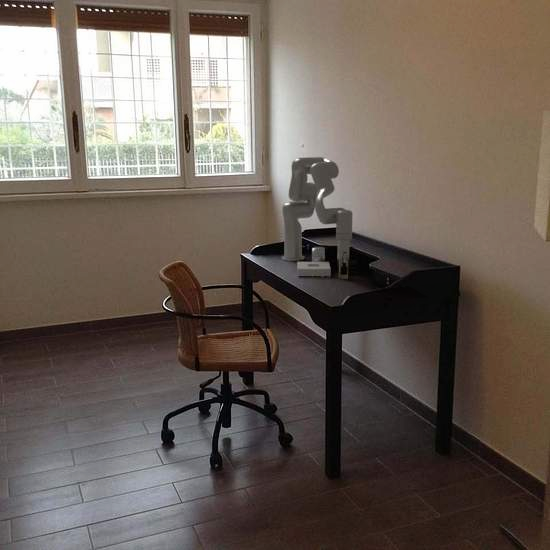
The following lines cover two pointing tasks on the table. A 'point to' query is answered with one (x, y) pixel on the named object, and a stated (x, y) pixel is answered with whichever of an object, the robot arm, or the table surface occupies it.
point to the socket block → (313, 269)
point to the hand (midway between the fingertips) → (343, 273)
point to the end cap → (350, 263)
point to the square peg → (339, 271)
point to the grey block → (318, 254)
